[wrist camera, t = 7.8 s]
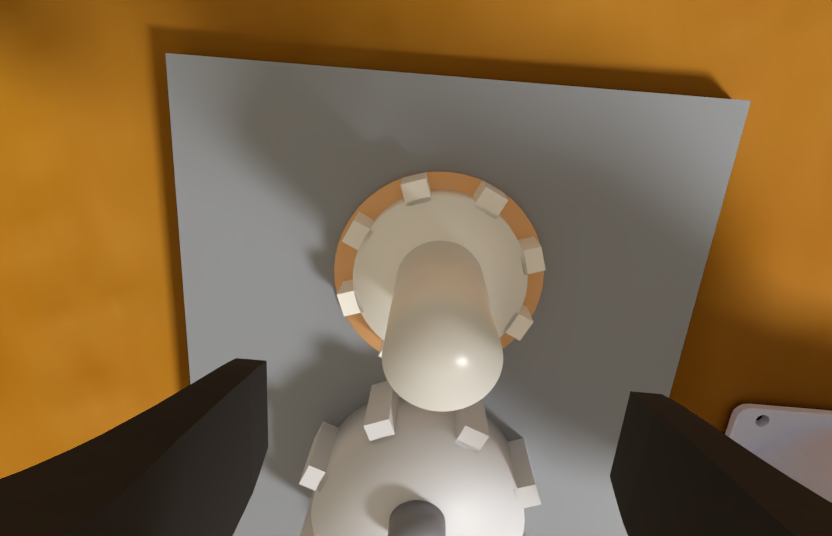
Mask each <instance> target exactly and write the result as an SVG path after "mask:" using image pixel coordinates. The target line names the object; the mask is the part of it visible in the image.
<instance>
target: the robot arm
mask: <svg viewBox="0 0 832 536" xmlns="http://www.w3.org/2000/svg"><path fill="white" fill-rule="evenodd" d="M761 415H763V417H762V418H761V419H759V420H756V419H757V417H759V416H761ZM267 449H268V406H267V361H265V360H253V359H241V358H235V359H233V360H231V361H229V362H227V363H226V364H224V365H222V366H220V367H219V368H217V369H215V370H214V371H212V372H210V373H209V374H207V375H205V376H204V377H202V378H200V379H199V380H197V381H196V382H194V383H192V384H191V385H189V386H187V387H186V388H184V389H182V390H181V391H179V392H177V393H176V394H174V395H172V396H170V397H169V398H167V399H165V400H164V401H162V402H160V403H159V404H157V405H155V406H154V407H152V408H150V409H148V410H146V411H144V412H142V413H141V414H139V415H137V416H135V417H133V418H131V419H130V420H128V421H126V422H124V423H122V424H120V425H118V426H117V427H115V428H113V429H111V430H109V431H107V432H106V433H104V434H102V435H100V436H98V437H96V438H94V439H92V440H90V441H88V442H86V443H83V444H81V445H79V446H77V447H75V448H73V449H71V450H69V451H66V452H64V453H62V454H60V455H57V456H55V457H53V458H51V459H48V460H46V461H44V462H42V463H39V464H37V465H35V466H32V467H30V468H28V469H25V470H23V471H20V472H18V473H15V474H12V475H10V476H7V477H4V478H2V479H0V536H233V534H234V532H235V530H236V528H237V526H238V523H239V521H240V519H241V517H242V515H243V513H244V511H245V509H246V507H247V505H248V502H249V500H250V498H251V496H252V494H253V491H254V488H255V485H256V483H257V480H258V477H259V474H260V471H261V468H262V465H263V462H264V459H265V456H266V452H267ZM610 479H611V483H612V486H613V490H614V494H615V498H616V501H617V505H618V508H619V511H620V515H621V518H622V521H623V525H624V527H625V530H626V532H627V534H628V536H832V410H820V409H808V408H796V407H784V406H772V405H760V404H742V405H739V406H737V407H736V408H735V409H734V410H733V412H732V414H731V417H730V420H729V423H728V426H727V429H726V432H725V434H724V433H722V432H721V431H719V430H718V429H716V428H715V427H713V426H712V425H710V424H709V423H707V422H706V421H704V420H703V419H701V418H700V417H698V416H697V415H695V414H694V413H692V412H691V411H689V410H688V409H686V408H685V407H683V406H682V405H680V404H678V403H677V402H675V401H673V400H672V399H670V398H668V397H666V396H664V395H663V394H656V393H644V392H632V391H630V395H629V399H628V403H627V408H626V412H625V416H624V420H623V424H622V428H621V432H620V436H619V440H618V444H617V448H616V452H615V456H614V460H613V464H612V468H611V473H610Z"/></svg>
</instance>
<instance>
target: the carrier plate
mask: <svg viewBox="0 0 832 536" xmlns="http://www.w3.org/2000/svg"><path fill="white" fill-rule="evenodd" d="M165 55H166V69H167V82H168V95H169V108H170V121H171V134H172V148H173V161H174V174H175V187H176V200H177V213H178V227H179V240H180V253H181V266H182V279H183V292H184V305H185V319H186V332H187V345H188V358H189V371H190V384H192V383H194V382H196V381H197V380H199V379H200V378H202V377H204V376H205V375H207V374H209V373H210V372H212V371H214V370H215V369H217V368H219V367H220V366H222V365H224V364H226V363H227V362H229V361H231V360H233V359H235V358H241V359H253V360H265V361H267V406H268V449H267V452H266V456H265V459H264V462H263V465H262V468H261V471H260V474H259V477H258V480H257V483H256V485H255V488H254V491H253V494H252V496H251V498H250V500H249V502H248V505H247V507H246V509H245V511H244V513H243V515H242V517H241V519H240V521H239V523H238V526H237V528H236V530H235V532H234V534H233V536H628V534H627V532H626V530H625V527H624V525H623V521H622V518H621V515H620V511H619V508H618V505H617V501H616V498H615V494H614V490H613V486H612V483H611V479H610V473H611V468H612V464H613V460H614V456H615V452H616V448H617V444H618V440H619V436H620V432H621V428H622V424H623V420H624V416H625V412H626V408H627V403H628V399H629V395H630V391H632V392H644V393H656V394H663V395H664V396H666V397H668V398H669V396H670V392H671V389H672V385H673V381H674V378H675V374H676V370H677V367H678V363H679V360H680V356H681V352H682V349H683V345H684V341H685V338H686V334H687V331H688V327H689V323H690V320H691V316H692V312H693V309H694V305H695V302H696V298H697V294H698V291H699V287H700V283H701V280H702V276H703V273H704V269H705V265H706V262H707V258H708V254H709V251H710V247H711V244H712V240H713V236H714V233H715V229H716V225H717V222H718V218H719V215H720V211H721V207H722V204H723V200H724V196H725V193H726V189H727V186H728V182H729V178H730V175H731V171H732V168H733V164H734V160H735V157H736V153H737V149H738V146H739V142H740V139H741V135H742V131H743V128H744V124H745V120H746V117H747V113H748V110H749V106H750V102H751V101H748V100H736V99H724V98H712V97H699V96H687V95H675V94H663V93H650V92H638V91H626V90H614V89H601V88H589V87H577V86H565V85H552V84H540V83H528V82H516V81H503V80H491V79H479V78H467V77H454V76H442V75H430V74H418V73H405V72H393V71H381V70H368V69H356V68H344V67H332V66H319V65H307V64H295V63H283V62H270V61H258V60H246V59H234V58H221V57H209V56H197V55H185V54H172V53H165ZM424 172H427V176H428V180H429V184H430V188H431V189H450V190H456V191H461V192H465V193H468V194H471V195H473V194H474V193H475V191H476V190H477V188H478V186H479V185H480V183H481V182H482V180H483V181H485V182H487V183H488V184H490V185H492V186H493V187H495V188H497V189H498V190H500V191H502V192H503V193H504V194H505V196H506V197H507V199H508V202H507V203H506V205H505V206H504V208H503V209H502V211H501V212H500V214H501V215H502V216H503V218H504V219H505V220H506V221H507V222H508V224H509V226H510V227H511V229H512V230H513V232H514V234H515V236H516V238H517V239H518V240H520V239H524V238H528V237H533V236H535V238H536V239H537V241H538V242H539V244H540V245H541V248H542V253H543V258H544V263H545V269H546V270H544V271H540V272H536V273H531V274H528V281H527V290H526V296H525V299H524V302H523V305H524V306H526V307H527V308H528V310H529V312H530V315H531V317H532V319H533V324H532V325H531V326H530V328H529V329H528V330H527V332H526V333H525V334H524V336H523V337H522V339H521V340H520V341H519V340H517V339H516V338H514V337H512V336H510V335H508V334H507V333H504V334H503V335H502V336H501V337H500V341H501V345H502V350H503V366H502V371H501V374H500V376H499V379H498V381H497V382H496V384H495V386H494V387H493V388H492V390H491V391H490V392H489V393H488V394H487V395H486V396H485V397H484V398H482V399H481V400H479V401H478V402H476V403H474V404H473V405H471V406H468V407H466V408H463V409H459V410H455V411H445V412H439V411H431V410H426V409H422V408H419V407H417V406H415V405H412V404H411V403H409V402H407V401H406V400H404V399H403V398H402V397H400V396H399V395H398V394H397V393H396V392H395V391H394V389H393V388H392V387H391V386H390V384H389V382H388V380H387V379H386V376H385V374H384V370H383V366H382V358H381V357H379V356H378V355H379V350H380V345H381V340H382V339H381V338H380V337H379V336H378V335H377V334H376V333H375V332H374V331H373V330H372V329H371V328H370V326H369V325H368V324H367V322H366V321H365V319H364V317H363V316H362V314H361V313H357V314H352V315H348V316H344V315H343V312H342V309H341V306H340V303H339V300H338V297H337V293H338V291H339V288H340V286H341V284H342V282H343V281H347V280H351V279H353V268H354V262H355V258H356V255H357V252H358V250H356V249H354V248H353V247H351V246H349V245H347V244H346V243H344V242H342V240H343V238H344V236H345V235H346V233H347V231H348V229H349V227H350V226H351V224H352V222H353V220H354V219H355V217H356V215H357V213H358V212H361V213H363V214H365V215H366V216H368V217H370V218H372V219H373V220H375V218H376V217H377V216H378V215H379V214H380V213H381V212H382V211H383V210H384V209H386V208H387V207H388V206H389V205H391V204H392V203H394V202H395V201H397V200H398V199H400V198H403V193H402V189H401V185H400V184H401V181H402V178H405V177H409V176H413V175H416V174H420V173H424Z"/></svg>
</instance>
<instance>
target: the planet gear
mask: <svg viewBox="0 0 832 536" xmlns="http://www.w3.org/2000/svg"><path fill="white" fill-rule="evenodd" d="M400 185H401V189H402V193H403V198H400V199H398V200H397V201H395V202H394V203H392V204H391V205H389V206H388V207H387V208H386V209H384V210H383V211H382V212H381V213H380V214H379V215H378V216H377V217H376V218H375V220H373V219H372V218H370V217H368V216H366V215H365V214H363V213H361V212H358V213H357V215H356V217H355V219H354V220H353V222H352V224H351V226H350V227H349V229H348V231H347V233H346V235H345V236H344V238H343V240H342V242H344V243H346V244H347V245H349V246H351V247H353V248H354V249H356V250H358V252H357V255H356V258H355V262H354V268H353V279H351V280H347V281H343V282H342V284H341V286H340V288H339V291H338V293H337V297H338V300H339V303H340V306H341V309H342V312H343V315H344V316H348V315H352V314H357V313H361V314H362V316H363V317H364V319H365V321H366V322H367V324H368V325H369V326H370V328H371V329H372V330H373V331H374V332H375V333H376V334H377V335H378V336H379V337H380V338H381V339H382V340H381V345H380V350H379V355H378V356H379V357H381V358H382V366H383V370H384V374H385V376H386V379H387V380H388V382H389V384H390V386H391V387H392V388H393V389H394V391H395V392H396V393H397V394H398V395H399V396H400V397H402V398H403V399H404V400H406V401H407V402H409V403H411V404H412V405H415V406H417V407H419V408H422V409H426V410H431V411H439V412H445V411H455V410H459V409H463V408H466V407H468V406H471V405H473V404H474V403H476V402H478V401H479V400H481V399H482V398H484V397H485V396H486V395H487V394H488V393H489V392H490V391H491V390H492V388H493V387H494V386H495V384H496V382H497V381H498V379H499V376H500V374H501V371H502V366H503V350H502V345H501V341H500V337H501V336H502V335H503V334H504V333H507V334H508V335H510V336H512V337H514V338H516V339H517V340H519V341H520V340H521V339H522V337H523V336H524V334H525V333H526V332H527V330H528V329H529V328H530V326H531V325H532V324H533V319H532V317H531V315H530V312H529V310H528V308H527V307H526V306H524V305H523V302H524V299H525V296H526V290H527V281H528V274H531V273H536V272H540V271H544V270H546V269H545V263H544V258H543V253H542V248H541V245H540V244H539V242H538V241H537V239H536V238H535V236H533V237H528V238H524V239H520V240H518V239H517V238H516V236H515V234H514V232H513V230H512V229H511V227H510V226H509V224H508V222H507V221H506V220H505V219H504V218H503V216H502V215H501V214H500V212H501V211H502V209H503V208H504V206H505V205H506V203H507V202H508V199H507V197H506V196H505V194H504V193H503V192H502V191H500V190H498V189H497V188H495V187H493V186H492V185H490V184H488V183H487V182H485V181H483V180H482V182H481V183H480V185H479V186H478V188H477V190H476V191H475V193H474V194H473V195H471V194H468V193H465V192H461V191H456V190H450V189H431V188H430V184H429V180H428V176H427V172H424V173H420V174H416V175H413V176H409V177H405V178H402V181H401V184H400Z"/></svg>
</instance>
